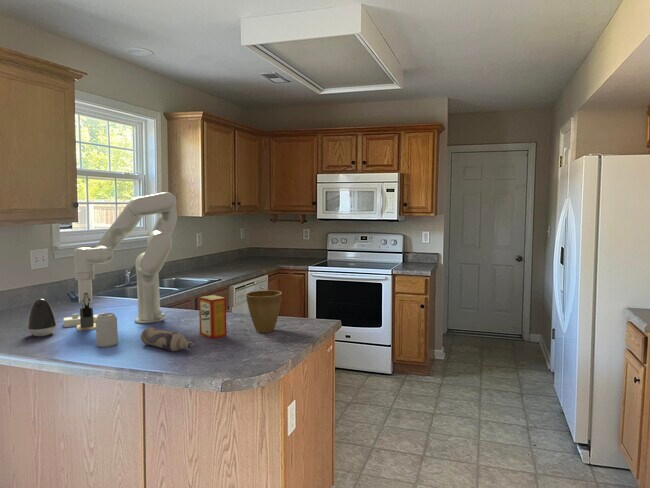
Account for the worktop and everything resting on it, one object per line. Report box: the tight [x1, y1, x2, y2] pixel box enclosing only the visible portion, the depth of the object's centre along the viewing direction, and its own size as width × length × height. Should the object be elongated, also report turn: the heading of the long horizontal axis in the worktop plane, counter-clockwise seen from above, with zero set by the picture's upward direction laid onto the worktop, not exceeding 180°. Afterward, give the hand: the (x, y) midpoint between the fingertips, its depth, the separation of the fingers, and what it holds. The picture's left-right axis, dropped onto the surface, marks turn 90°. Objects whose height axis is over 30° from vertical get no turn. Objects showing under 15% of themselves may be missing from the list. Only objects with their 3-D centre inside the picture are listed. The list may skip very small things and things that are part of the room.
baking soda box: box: [198, 294, 228, 340], centre depth 201 cm, size 10×6×16 cm
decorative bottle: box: [140, 326, 196, 352], centre depth 183 cm, size 26×8×7 cm, turn 55°
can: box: [95, 312, 119, 348], centre depth 188 cm, size 8×8×12 cm
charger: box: [79, 306, 94, 328], centre depth 216 cm, size 5×4×8 cm
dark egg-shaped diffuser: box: [27, 298, 57, 337], centre depth 204 cm, size 10×10×15 cm
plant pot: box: [245, 289, 282, 334], centre depth 208 cm, size 15×15×16 cm
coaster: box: [76, 323, 96, 332], centre depth 216 cm, size 8×8×1 cm
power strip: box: [63, 312, 104, 328], centre depth 224 cm, size 18×6×5 cm, turn 117°
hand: (86, 314), depth 216 cm, fingers open, 9 cm apart
